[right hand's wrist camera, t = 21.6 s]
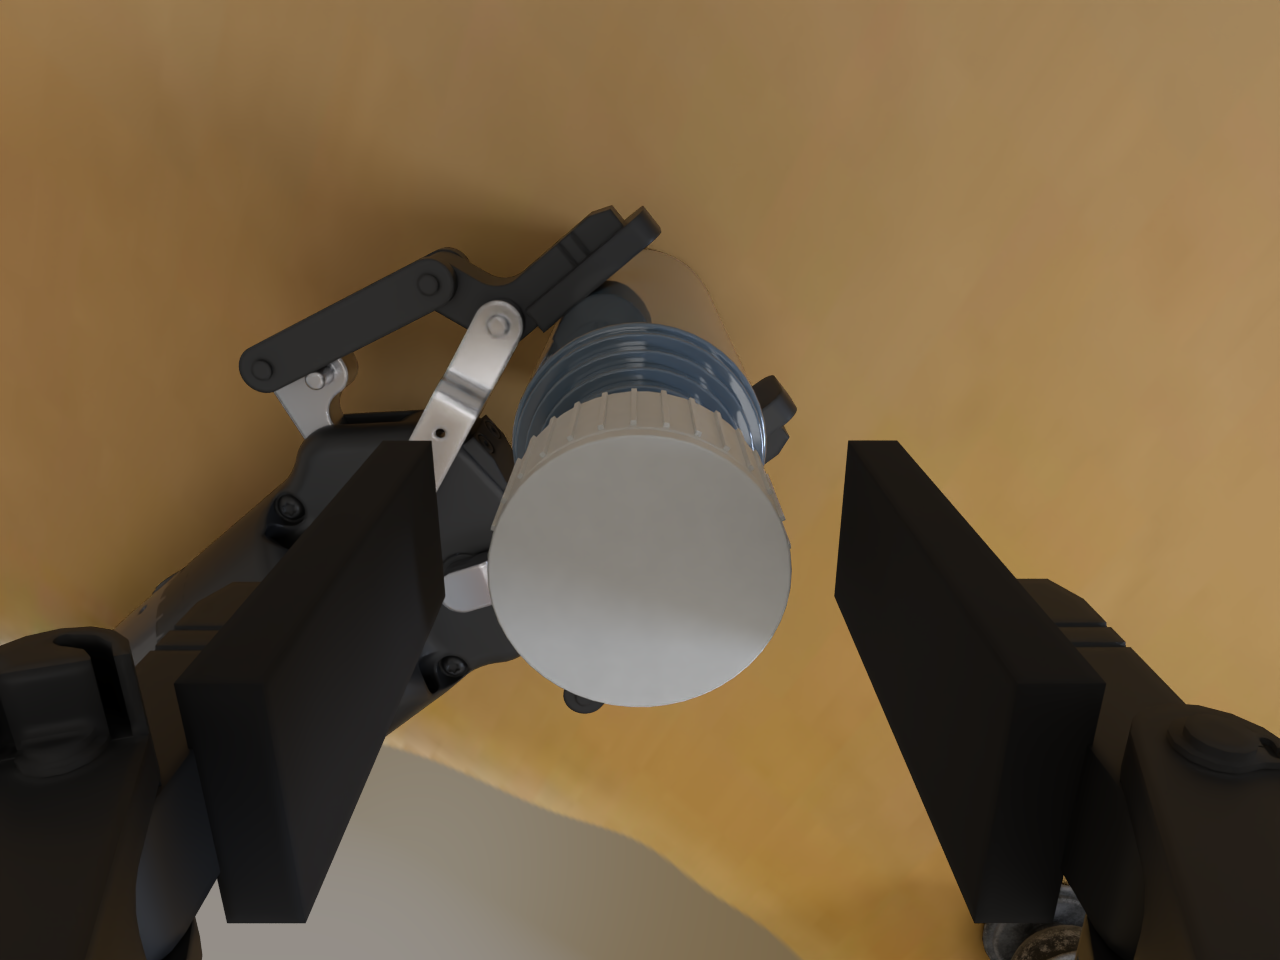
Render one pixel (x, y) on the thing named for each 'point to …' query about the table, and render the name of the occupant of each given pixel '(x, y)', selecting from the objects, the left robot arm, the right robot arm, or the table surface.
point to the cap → (639, 551)
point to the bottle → (641, 351)
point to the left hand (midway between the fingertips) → (717, 309)
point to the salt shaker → (1039, 934)
